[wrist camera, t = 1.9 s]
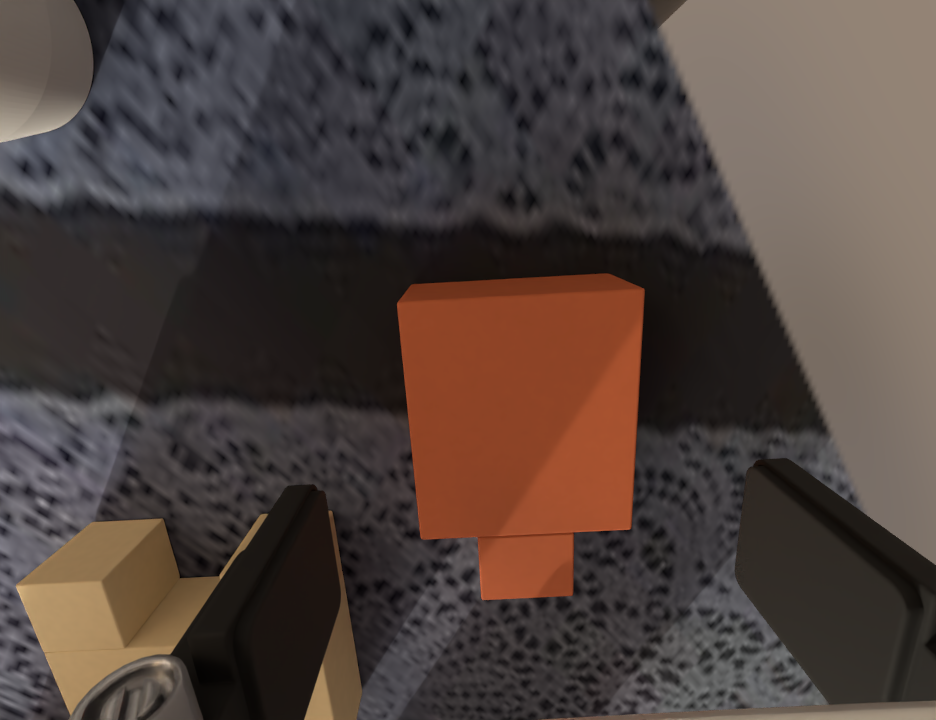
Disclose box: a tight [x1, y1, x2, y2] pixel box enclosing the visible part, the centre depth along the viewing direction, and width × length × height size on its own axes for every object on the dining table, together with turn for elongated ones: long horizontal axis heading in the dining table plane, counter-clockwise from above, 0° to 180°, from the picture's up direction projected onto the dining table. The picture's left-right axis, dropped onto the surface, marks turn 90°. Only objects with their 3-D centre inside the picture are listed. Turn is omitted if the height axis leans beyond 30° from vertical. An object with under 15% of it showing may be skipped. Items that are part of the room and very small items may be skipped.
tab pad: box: [397, 273, 645, 600], centre depth 17 cm, size 11×7×4 cm, turn 3°
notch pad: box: [16, 511, 362, 720], centre depth 19 cm, size 10×10×4 cm
